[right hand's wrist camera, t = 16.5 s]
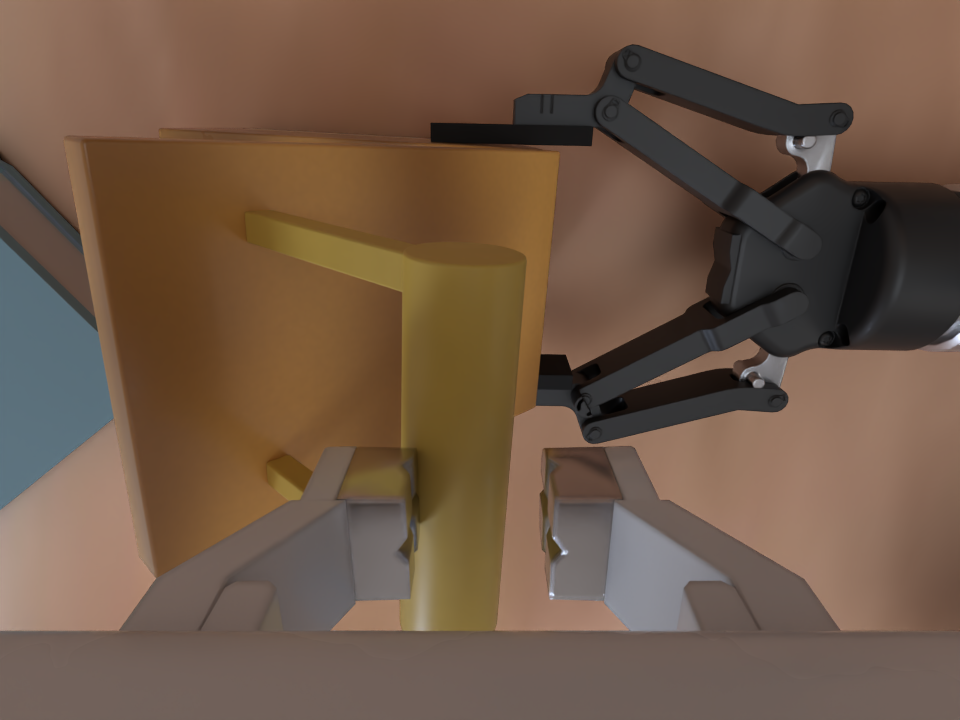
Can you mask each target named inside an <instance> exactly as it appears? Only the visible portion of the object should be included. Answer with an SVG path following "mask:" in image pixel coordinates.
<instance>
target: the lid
mask: <svg viewBox="0 0 960 720" xmlns="http://www.w3.org/2000/svg"><path fill="white" fill-rule="evenodd" d="M63 142H64V147H65V153H66V158H67V164H68V169H69V175H70V180H71V186H72V191H73V197H74V202H75V208H76V213H77V219H78V224H79V230H80V235H81V241H82V246H83V252H84V257H85V262H86V268H87V273H88V279H89V284H90V290H91V295H92V301H93V306H94V312H95V317H96V323H97V328H98V334H99V339H100V345H101V350H102V356H103V361H104V367H105V372H106V378H107V383H108V389H109V394H110V400H111V405H112V411H113V416H114V421H115V427H116V432H117V438H118V443H119V449H120V454H121V460H122V465H123V471H124V476H125V482H126V487H127V493H128V498H129V504H130V509H131V515H132V520H133V526H134V531H135V537H136V542H137V548H138V553H139V557H140V558H141V560H142V561H143V562H144V564H145V565H146V566H147V567H148V569H149V570H150V571H151V573H152V574H153V575H154V576H155V578H158V577H160V576H161V575H163V574H165V573H166V572H168V571H170V570H172V569H173V568H175V567H177V566H178V565H180V564H182V563H184V562H185V561H187V560H189V559H190V558H192V557H194V556H196V555H197V554H199V553H201V552H202V551H204V550H206V549H208V548H209V547H211V546H213V545H215V544H216V543H218V542H220V541H221V540H223V539H225V538H227V537H228V536H230V535H232V534H233V533H235V532H237V531H239V530H240V529H242V528H244V527H245V526H247V525H249V524H251V523H252V522H254V521H256V520H257V519H259V518H261V517H263V516H264V515H266V514H268V513H270V512H271V511H273V510H275V509H276V508H278V507H280V506H282V505H283V504H285V503H287V502H288V501H290V500H300V499H301V496H302V494H303V492H304V490H305V488H306V486H307V484H308V482H309V480H310V478H311V476H312V474H313V472H314V469H315V467H316V465H317V463H318V461H319V459H320V457H321V455H322V453H323V451H324V449H325V448H327V447H339V446H356V447H357V448H358V447H401V448H417V452H418V480H417V487H416V493H417V494H418V496H419V501H420V535H419V544H418V550H417V551H416V552H415V553H414V557H415V572H414V578H413V585H412V591H411V598H410V599H400V625H401V628H402V630H403V631H494V630H495V628H496V624H497V616H498V604H499V591H500V579H501V567H502V555H503V543H504V531H505V519H506V507H507V495H508V483H509V470H510V458H511V446H512V434H513V422H514V417H515V416H517V415H519V414H521V413H523V412H526V411H528V410H530V409H532V408H534V407H535V406H536V398H537V387H538V377H539V366H540V356H541V346H542V335H543V325H544V315H545V304H546V294H547V283H548V273H549V263H550V252H551V242H552V231H553V221H554V211H555V200H556V190H557V180H558V169H559V159H560V153H559V152H558V151H548V150H534V149H500V148H467V147H433V146H400V145H366V144H332V143H299V142H265V141H232V140H198V139H164V138H131V137H97V136H66V137H64V140H63Z"/></svg>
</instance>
